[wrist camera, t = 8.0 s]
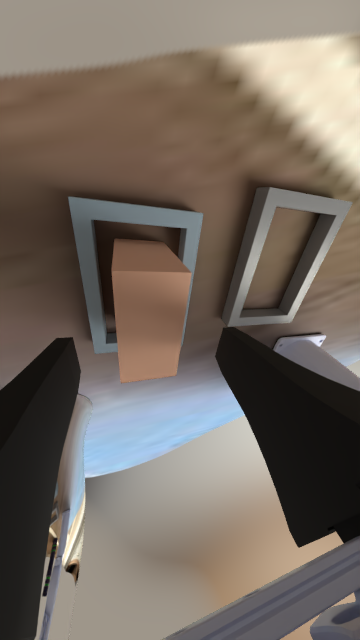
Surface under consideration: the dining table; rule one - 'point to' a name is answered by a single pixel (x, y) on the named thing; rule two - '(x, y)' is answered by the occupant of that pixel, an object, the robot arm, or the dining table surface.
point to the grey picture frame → (86, 245)
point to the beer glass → (65, 532)
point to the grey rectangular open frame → (308, 265)
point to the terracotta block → (148, 308)
